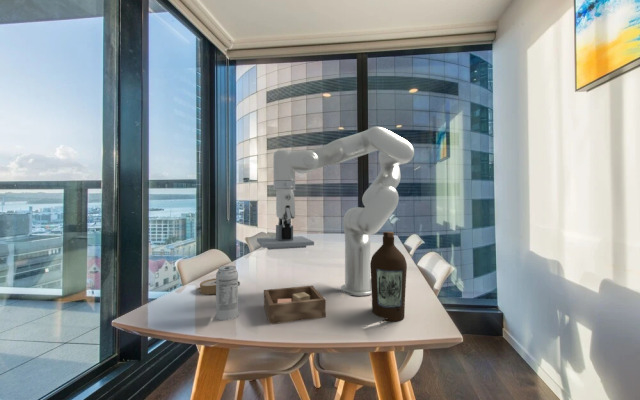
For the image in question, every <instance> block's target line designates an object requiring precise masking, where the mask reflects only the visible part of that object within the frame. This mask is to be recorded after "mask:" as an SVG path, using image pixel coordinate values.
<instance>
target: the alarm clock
mask: <svg viewBox="0 0 640 400" xmlns="http://www.w3.org/2000/svg"><path fill="white" fill-rule="evenodd" d="M240 286H241V281H239V280H238V287H240ZM196 290H197V291H198V290H199V291H200V292H199V293H200V294H202V295H216V277H215V278H211V279H207V280H204V281H202V282H200V283H199V287H198V288H196Z"/></svg>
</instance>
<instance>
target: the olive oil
mask: <svg viewBox="0 0 640 400" xmlns="http://www.w3.org/2000/svg"><path fill="white" fill-rule="evenodd" d="M382 235H383V236H382V244H381V246H380V247H379V248H378V249H377V250H376V251H375V252H374V253H373V255H372V257H371V258H370V278H371V288H372V294H371V312H372V313H373V314H374V315H375V316H377V317H379V318H383V319H382V321H383V322H389V321H390V322H393V323H394V321H395V322H400V321H403V320H404V318H405V308H406V291H407V290H406V288H407V271H408V268H407V267H408V264H407V259H406V257H405V256H404V254H403V253H402V252H401V251H400V250H399V249H398V248H397V246H396V245H395V236H394V235H395V233H394V231H382Z"/></svg>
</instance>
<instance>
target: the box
mask: <svg viewBox="0 0 640 400" xmlns="http://www.w3.org/2000/svg"><path fill="white" fill-rule="evenodd" d="M301 292H305V293H307V294H308V295H310V300H303V301H293V294H296V293H301ZM278 299H291V302H283V303H278ZM326 303H327V299H326V298H325V297H324V296H323V295H321V293H320V292H319V291H318V290H317V289H316V287H314V286H313V285H304V286H294V287H293V286H292V287H282V288H271V289H263V308H264V310H265V314H266V317H267V321H268V324H269V325H274V324H283V323H289V322H290V323H291V322H298V321H306V320H314V319H321V318H322V319H323V318H326V315H327V314H326V313H327V310H326V309H327V307H326Z"/></svg>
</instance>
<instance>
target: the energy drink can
mask: <svg viewBox="0 0 640 400" xmlns="http://www.w3.org/2000/svg"><path fill="white" fill-rule="evenodd" d="M215 278H216V294H215V318H216V320H219V321H231V320H234V319H236V318H237V317H238V316H239V286H238V281H239V271H238V270H237V267H236V265H222V266H219V267H218V270H217V272H216V274H215Z"/></svg>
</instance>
